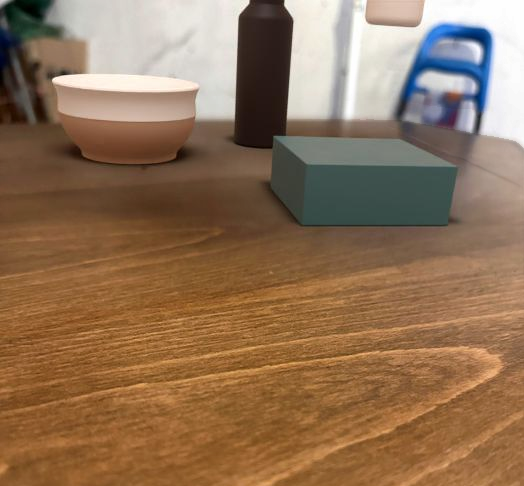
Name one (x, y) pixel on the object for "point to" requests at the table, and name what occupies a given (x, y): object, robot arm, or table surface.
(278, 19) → the bottle
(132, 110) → the bowl
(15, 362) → the table surface
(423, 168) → the stand
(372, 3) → the drinking glass
